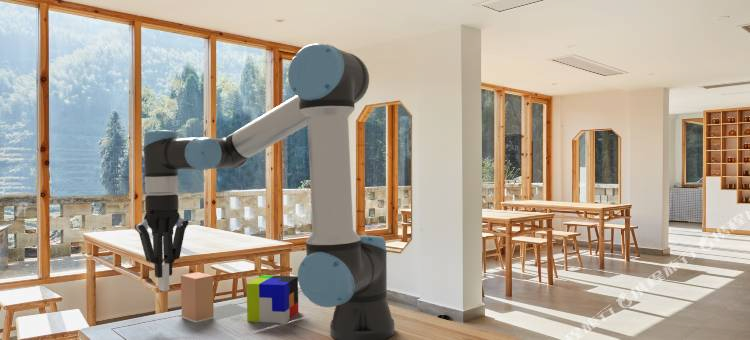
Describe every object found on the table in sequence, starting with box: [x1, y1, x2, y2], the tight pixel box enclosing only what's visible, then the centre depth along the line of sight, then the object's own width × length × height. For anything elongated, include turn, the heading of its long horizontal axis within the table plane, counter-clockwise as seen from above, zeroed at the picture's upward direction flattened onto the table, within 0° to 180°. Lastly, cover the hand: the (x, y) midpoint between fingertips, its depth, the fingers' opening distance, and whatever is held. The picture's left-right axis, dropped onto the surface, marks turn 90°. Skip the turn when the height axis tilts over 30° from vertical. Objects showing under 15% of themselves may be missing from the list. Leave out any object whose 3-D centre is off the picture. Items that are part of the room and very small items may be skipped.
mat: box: [177, 303, 247, 325], centre depth 147 cm, size 11×16×1 cm
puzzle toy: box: [246, 274, 299, 326], centre depth 143 cm, size 10×10×10 cm
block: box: [180, 271, 214, 324], centre depth 143 cm, size 7×5×11 cm
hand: (163, 289), depth 136 cm, fingers closed
